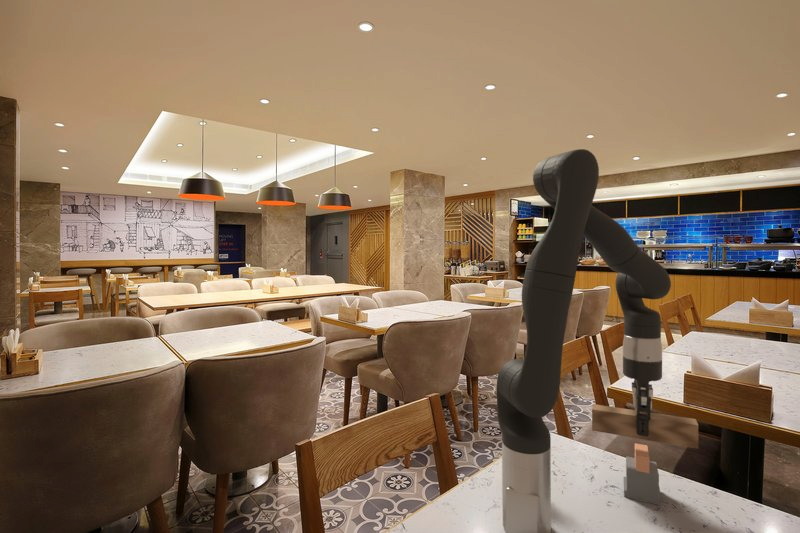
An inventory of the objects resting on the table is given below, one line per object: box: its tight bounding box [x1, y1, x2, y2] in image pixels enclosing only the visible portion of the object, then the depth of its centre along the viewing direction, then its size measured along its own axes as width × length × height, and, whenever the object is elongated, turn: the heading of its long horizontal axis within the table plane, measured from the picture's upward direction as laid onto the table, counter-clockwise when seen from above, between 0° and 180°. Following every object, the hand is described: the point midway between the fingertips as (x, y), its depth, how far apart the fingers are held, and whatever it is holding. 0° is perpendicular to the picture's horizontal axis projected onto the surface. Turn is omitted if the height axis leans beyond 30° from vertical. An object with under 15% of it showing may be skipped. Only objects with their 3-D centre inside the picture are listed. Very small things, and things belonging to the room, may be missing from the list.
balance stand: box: [623, 442, 663, 506], centre depth 90 cm, size 6×7×10 cm
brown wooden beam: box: [591, 403, 699, 450], centre depth 89 cm, size 20×4×5 cm, turn 62°
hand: (641, 431), depth 89 cm, fingers closed on brown wooden beam, 3 cm apart
